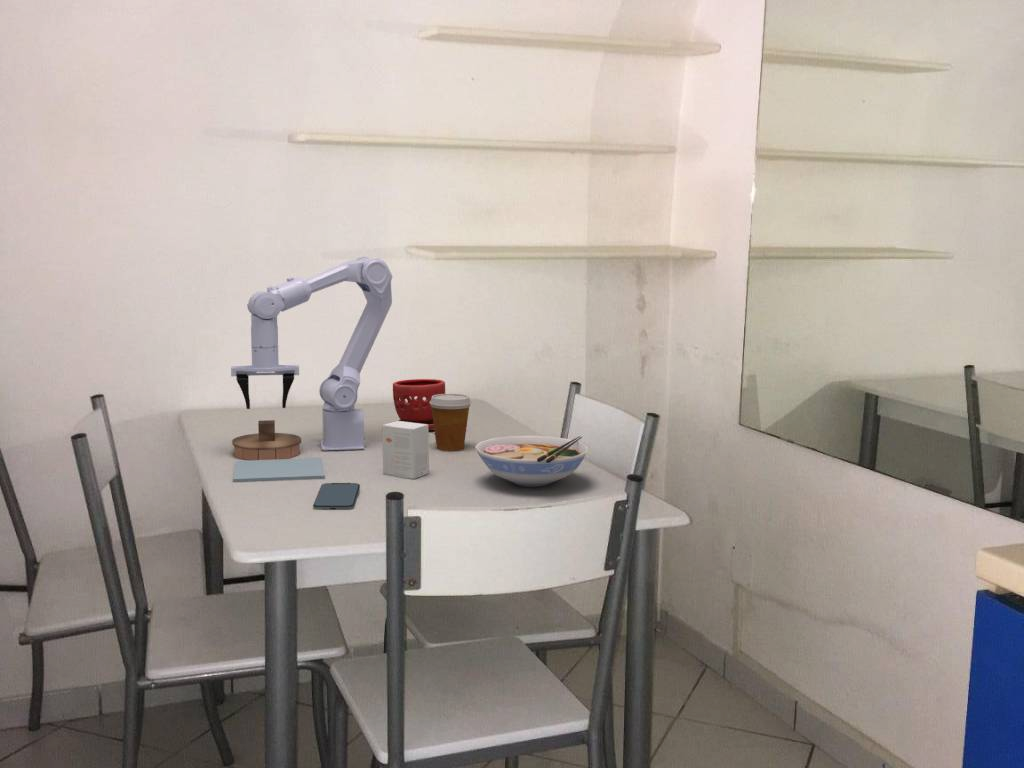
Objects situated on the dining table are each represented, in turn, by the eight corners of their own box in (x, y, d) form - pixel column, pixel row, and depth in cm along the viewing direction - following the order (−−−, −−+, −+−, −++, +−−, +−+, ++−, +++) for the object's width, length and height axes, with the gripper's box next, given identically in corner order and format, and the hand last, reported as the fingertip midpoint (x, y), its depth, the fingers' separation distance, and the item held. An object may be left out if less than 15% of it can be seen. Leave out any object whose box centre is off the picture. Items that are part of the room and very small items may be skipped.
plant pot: (447, 423, 273) (447, 377, 271) (442, 434, 260) (443, 385, 258) (396, 422, 273) (396, 376, 271) (389, 433, 260) (389, 384, 258)
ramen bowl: (501, 464, 230) (502, 426, 228) (603, 474, 221) (604, 436, 220) (453, 491, 207) (454, 450, 205) (565, 504, 198) (566, 461, 197)
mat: (321, 460, 230) (321, 457, 230) (325, 478, 215) (324, 475, 215) (235, 463, 226) (235, 460, 226) (233, 482, 211) (232, 479, 211)
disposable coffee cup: (428, 452, 239) (428, 400, 238) (430, 443, 249) (430, 393, 247) (470, 453, 240) (471, 400, 238) (471, 444, 249) (471, 393, 247)
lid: (300, 434, 245) (300, 414, 244) (302, 448, 230) (302, 427, 230) (233, 436, 242) (232, 416, 241) (230, 450, 227) (230, 429, 226)
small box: (429, 474, 220) (429, 424, 218) (413, 479, 215) (413, 428, 213) (398, 469, 224) (398, 420, 222) (382, 474, 219) (381, 424, 217)
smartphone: (311, 505, 192) (321, 482, 207) (311, 514, 192) (321, 490, 207) (354, 505, 192) (360, 482, 207) (354, 514, 193) (360, 490, 207)
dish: (298, 445, 245) (298, 434, 244) (300, 459, 231) (299, 448, 231) (235, 447, 242) (235, 436, 241) (233, 461, 228) (233, 450, 228)
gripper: (298, 344, 238) (299, 403, 240) (231, 344, 235) (232, 405, 237) (298, 347, 231) (300, 409, 233) (230, 348, 228) (231, 411, 230)
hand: (266, 407), depth 235 cm, fingers open, 7 cm apart
